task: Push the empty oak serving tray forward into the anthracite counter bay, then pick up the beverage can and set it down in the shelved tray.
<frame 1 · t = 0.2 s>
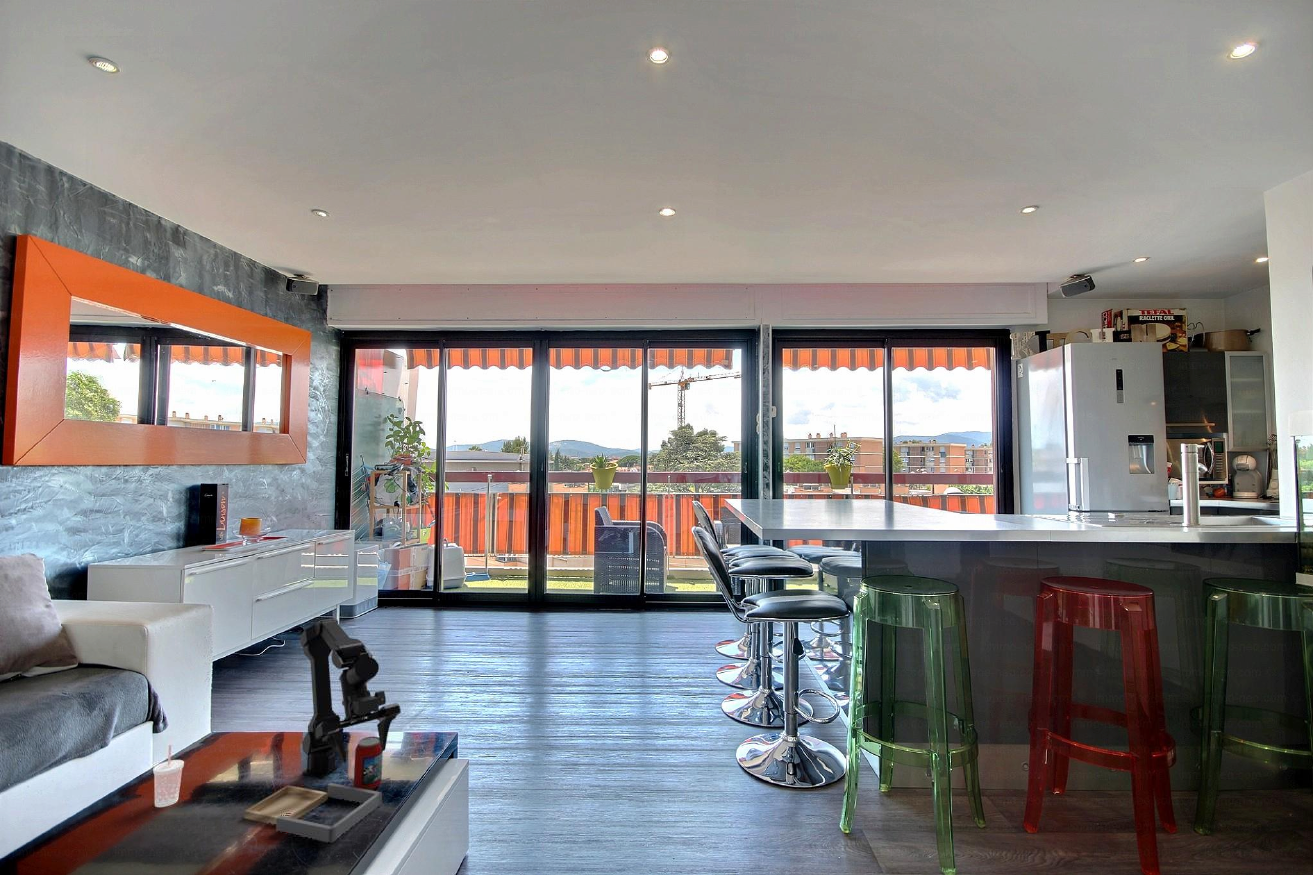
hand: (364, 756, 150), 15 cm above the table, tool tilted 30°, fingers open, 9 cm apart
beverage cup: (166, 802, 154), on the table
tray: (286, 810, 153), on the table
bay: (329, 816, 150), on the table
beverage can: (367, 787, 164), on the table
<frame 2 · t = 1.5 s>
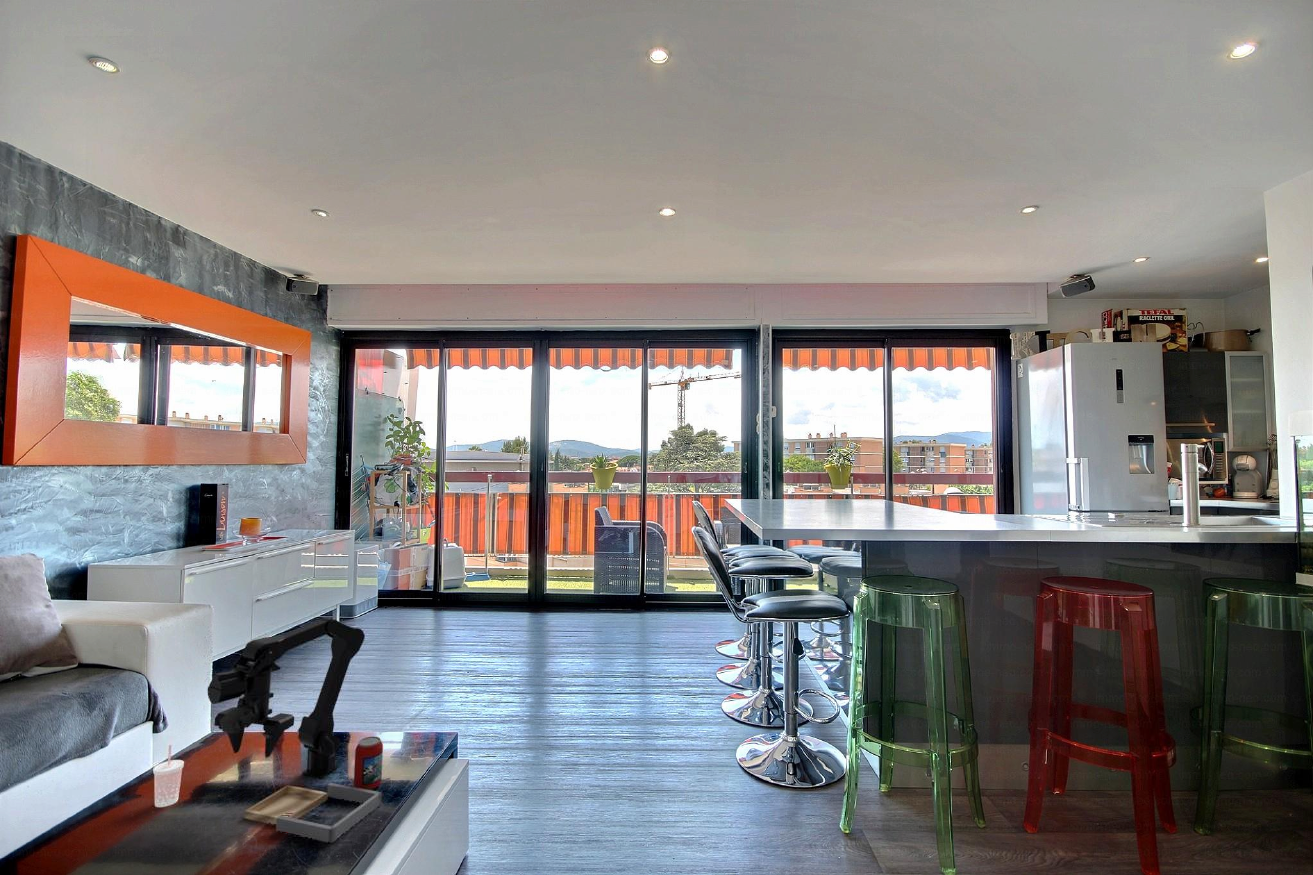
hand: (251, 754, 155), 12 cm above the table, tool pointing down, fingers open, 9 cm apart
nothing on the table moved.
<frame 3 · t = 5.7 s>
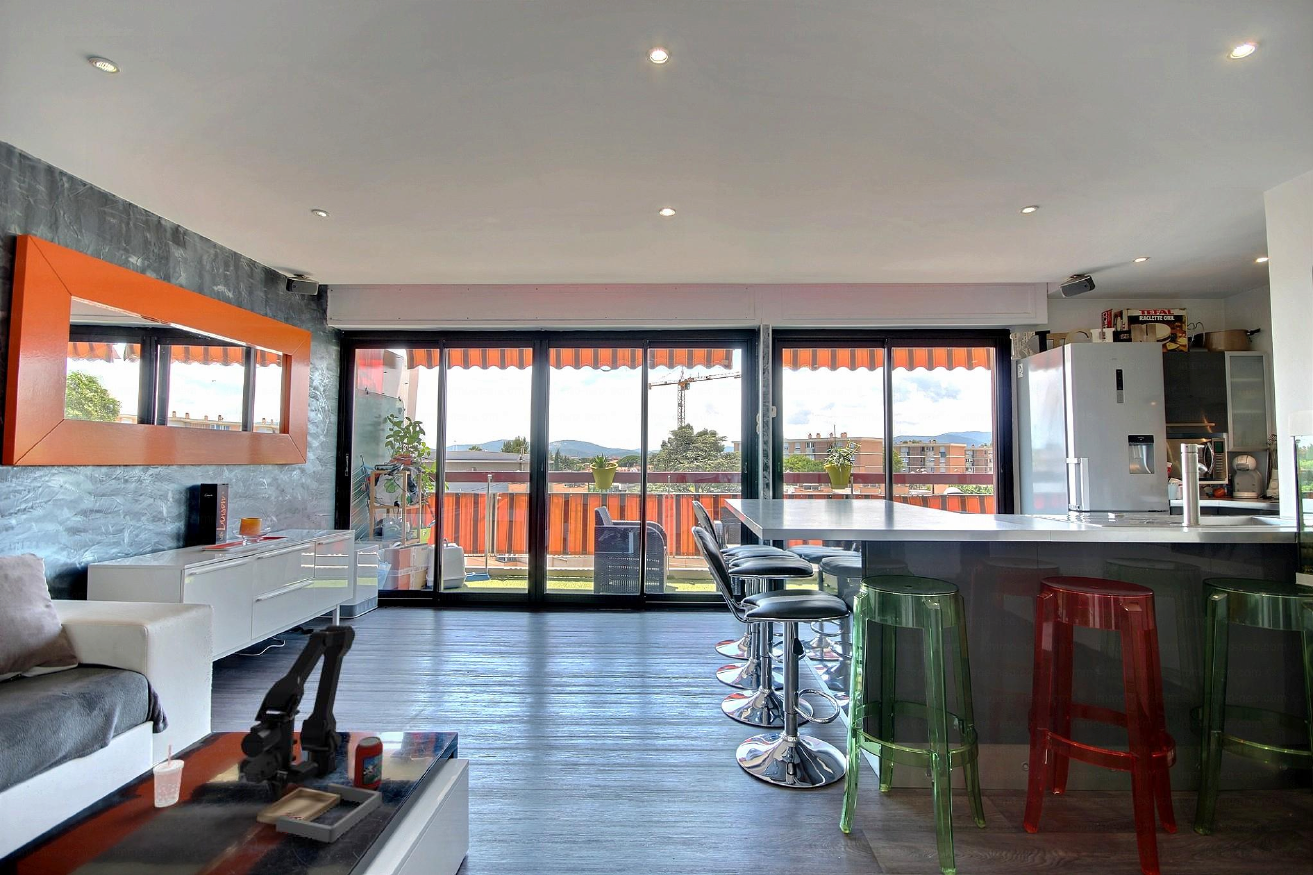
hand: (276, 802, 154), 1 cm above the table, tool pointing down, fingers closed
tray: (299, 812, 152), on the table
everything else where it was.
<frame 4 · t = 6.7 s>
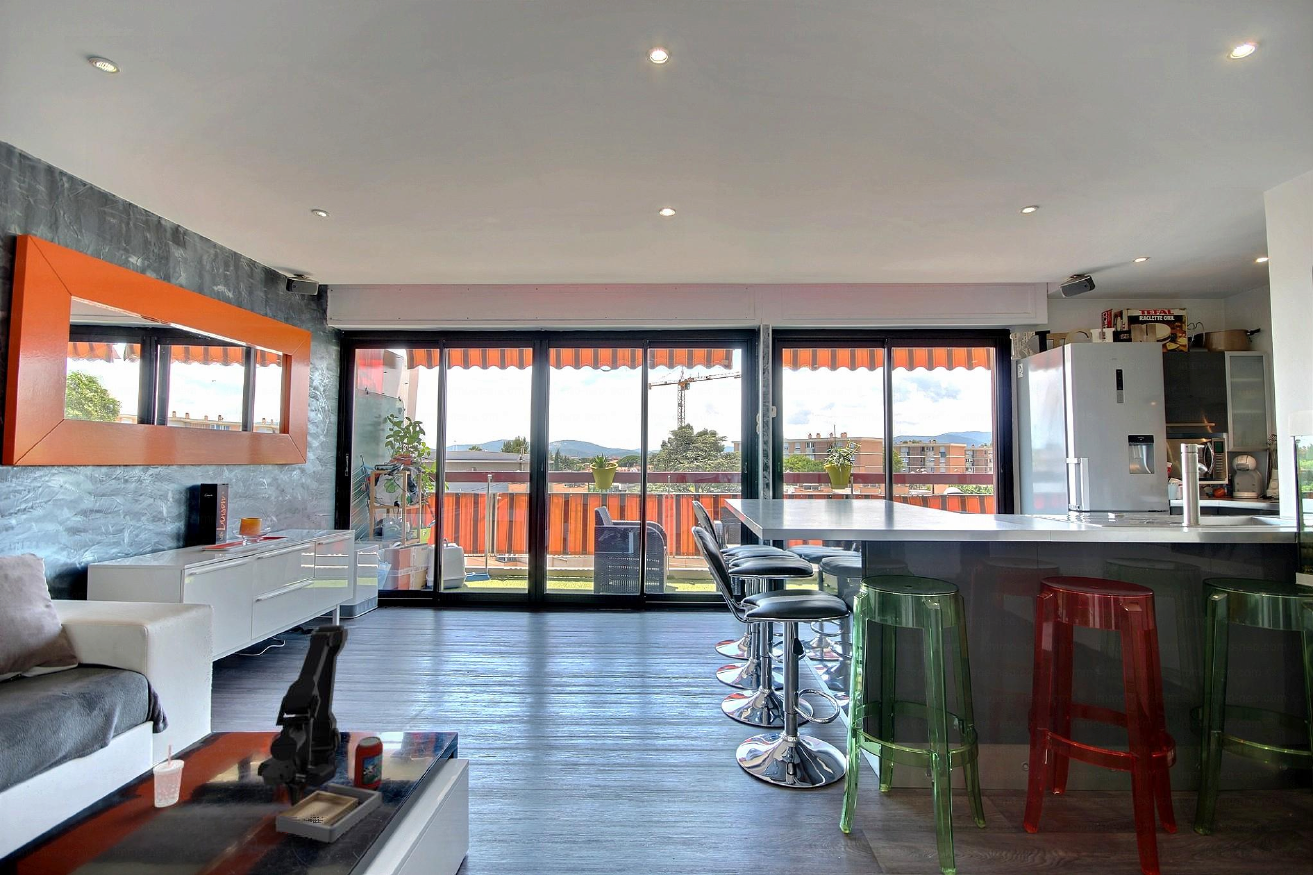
hand: (294, 805, 152), 1 cm above the table, tool pointing down, fingers closed
tray: (317, 816, 151), on the table
everything else where it was.
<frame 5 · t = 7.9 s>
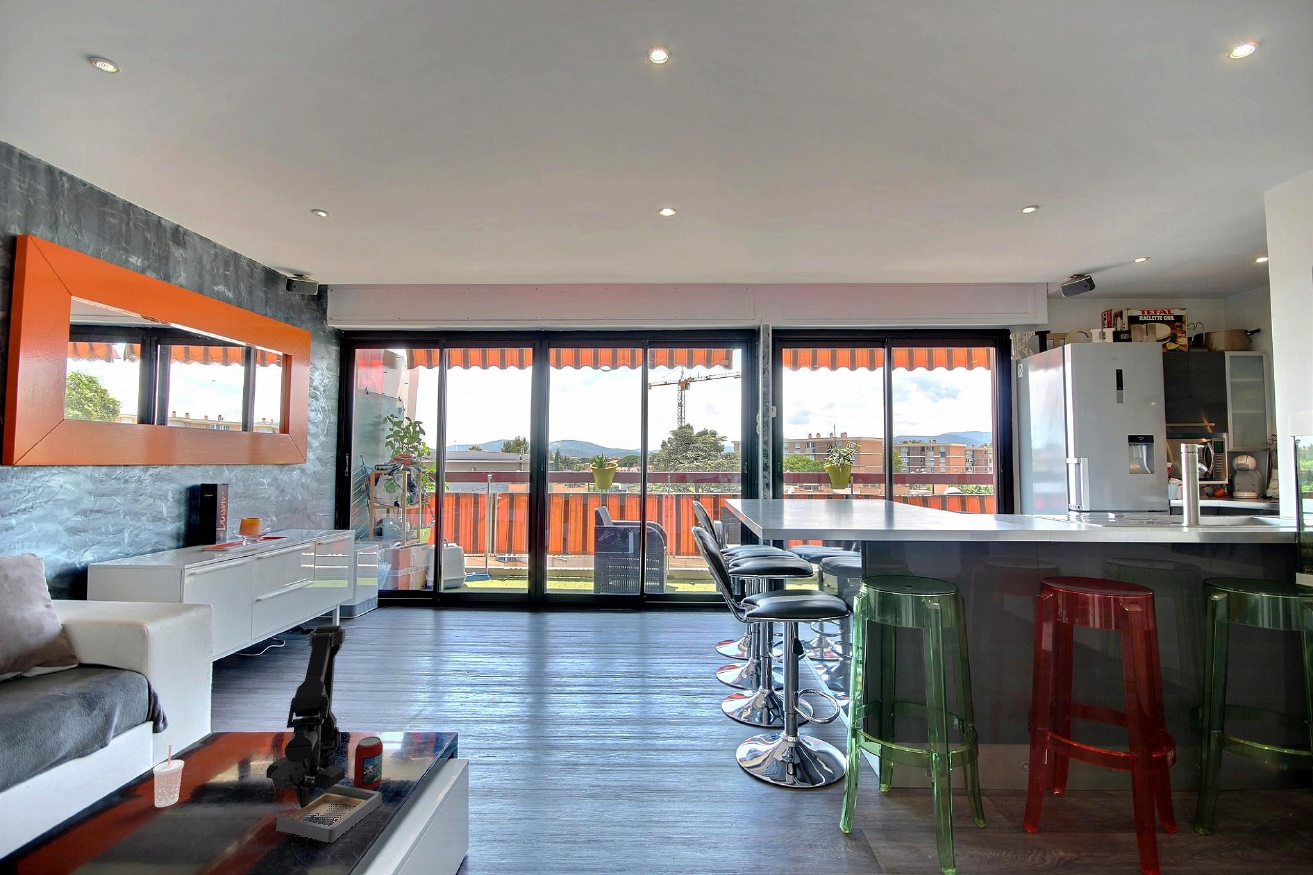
hand: (303, 807, 152), 1 cm above the table, tool pointing down, fingers closed
tray: (327, 818, 150), on the table
everything else where it was.
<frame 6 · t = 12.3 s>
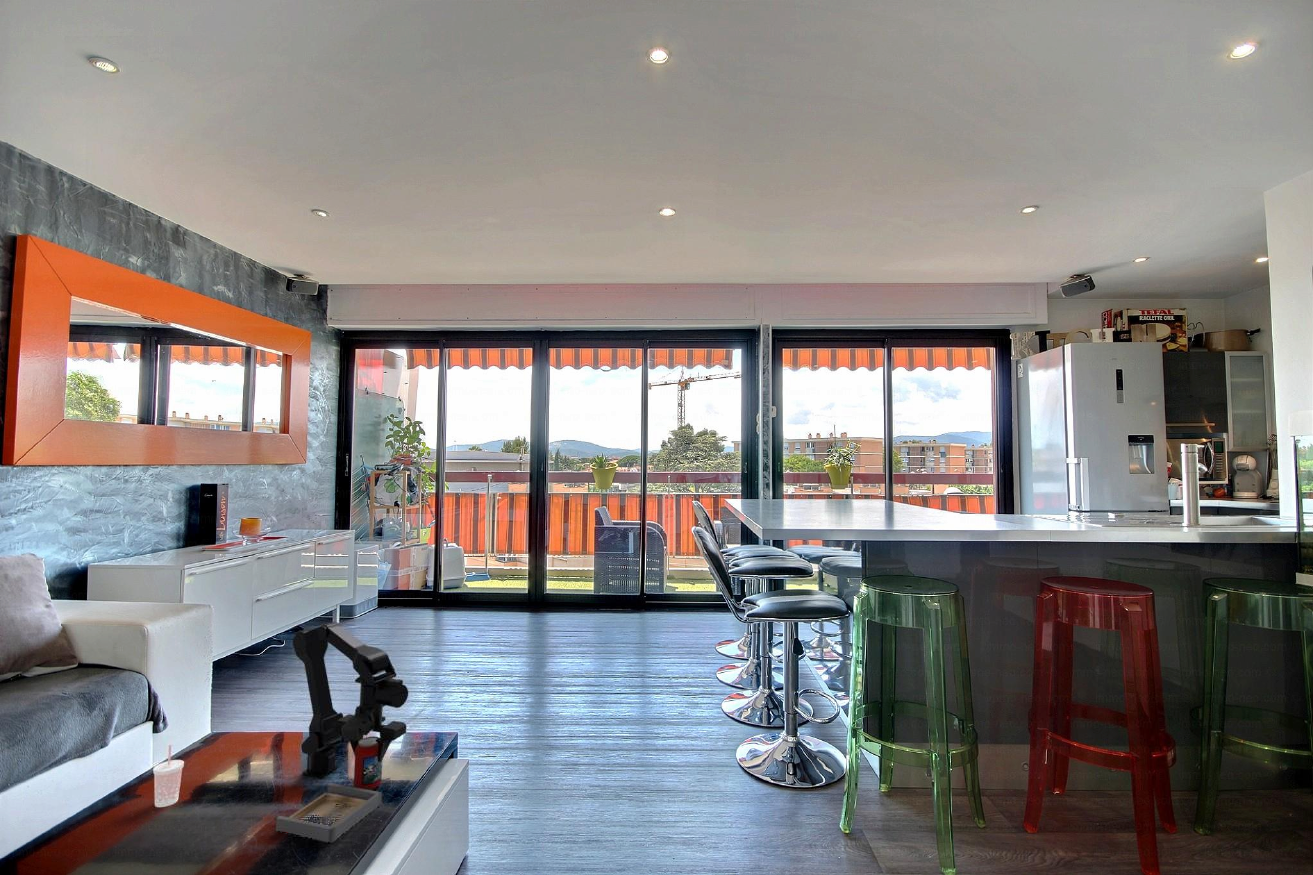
hand: (368, 759, 164), 7 cm above the table, tool pointing down, fingers closed on beverage can, 7 cm apart
beverage can: (367, 787, 164), on the table, touching gripper
everything else where it was.
when the fingers open (9 cm above the table, at t = 15.5 s): beverage can drops 2 cm, resting in tray.
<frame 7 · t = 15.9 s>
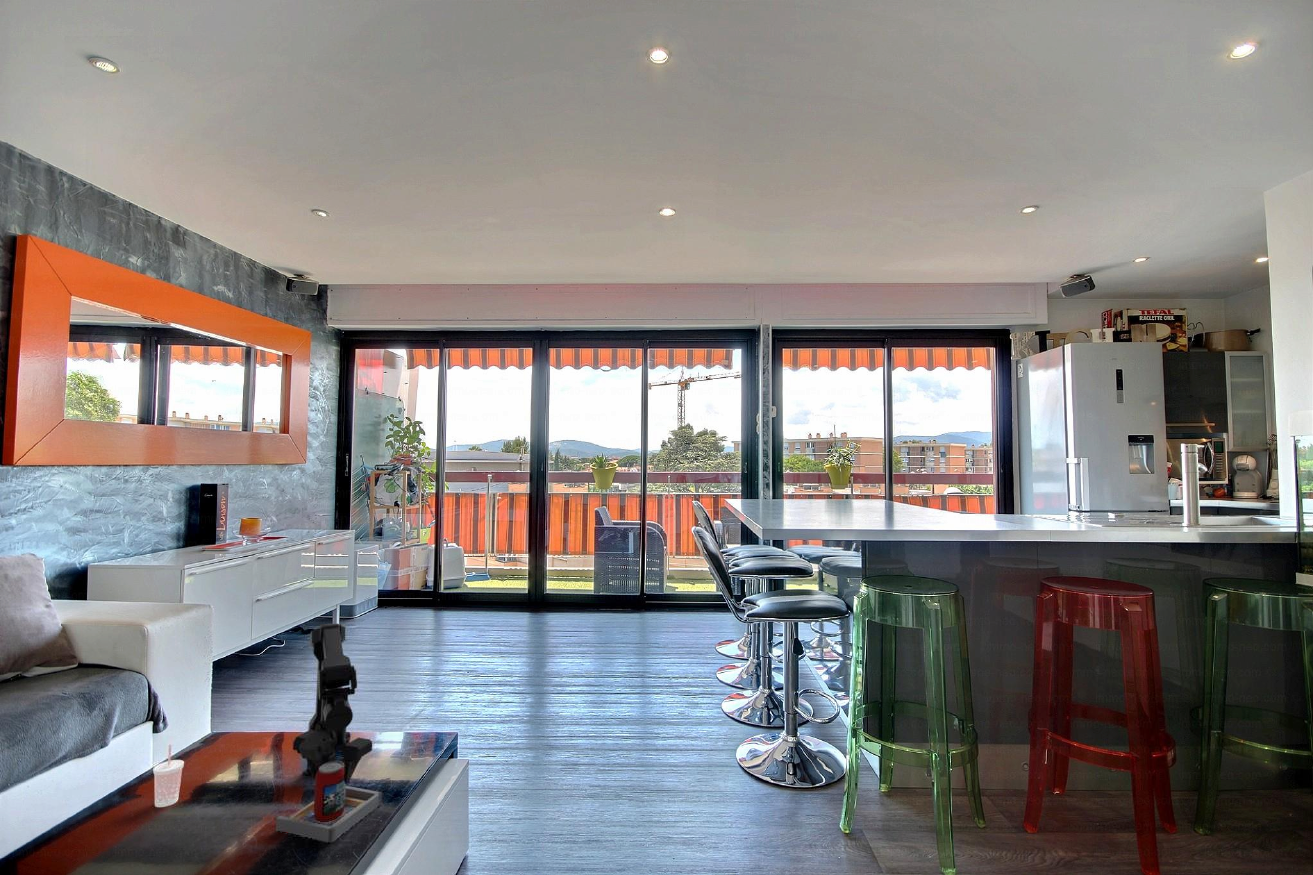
hand: (330, 779, 150), 9 cm above the table, tool pointing down, fingers open, 9 cm apart
beverage can: (329, 817, 150), resting in tray
everything else where it was.
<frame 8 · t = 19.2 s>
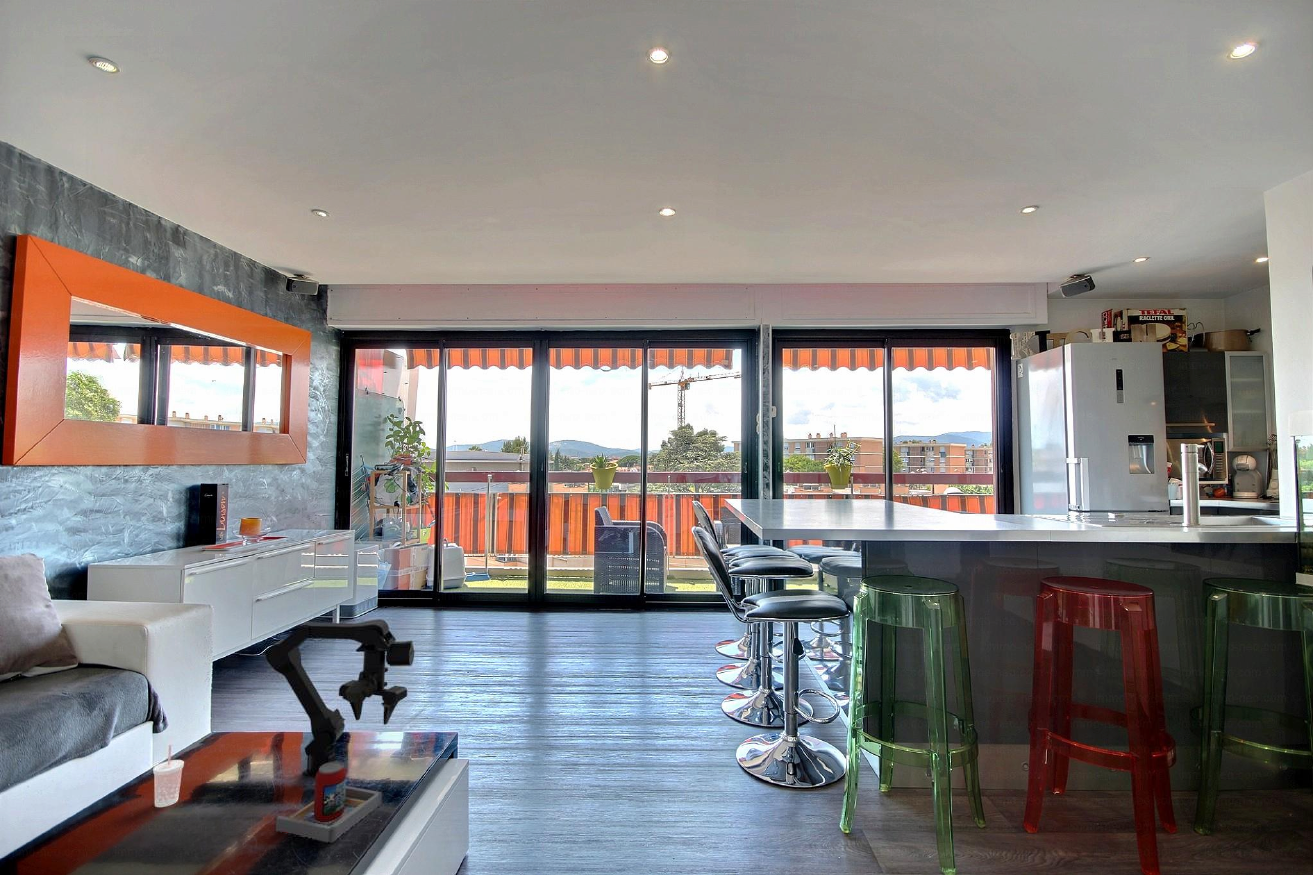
hand: (371, 722, 174), 13 cm above the table, tool pointing down, fingers open, 9 cm apart
tray: (327, 819, 150), on the table, touching beverage can
beverage can: (328, 817, 150), resting in tray
everything else where it was.
at the end: tray 0.5 cm off-centre on the bay, point -0.6 cm above the bay's base; beverage can 0.4 cm from the tray (horizontally); beverage can tilted 0° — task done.
